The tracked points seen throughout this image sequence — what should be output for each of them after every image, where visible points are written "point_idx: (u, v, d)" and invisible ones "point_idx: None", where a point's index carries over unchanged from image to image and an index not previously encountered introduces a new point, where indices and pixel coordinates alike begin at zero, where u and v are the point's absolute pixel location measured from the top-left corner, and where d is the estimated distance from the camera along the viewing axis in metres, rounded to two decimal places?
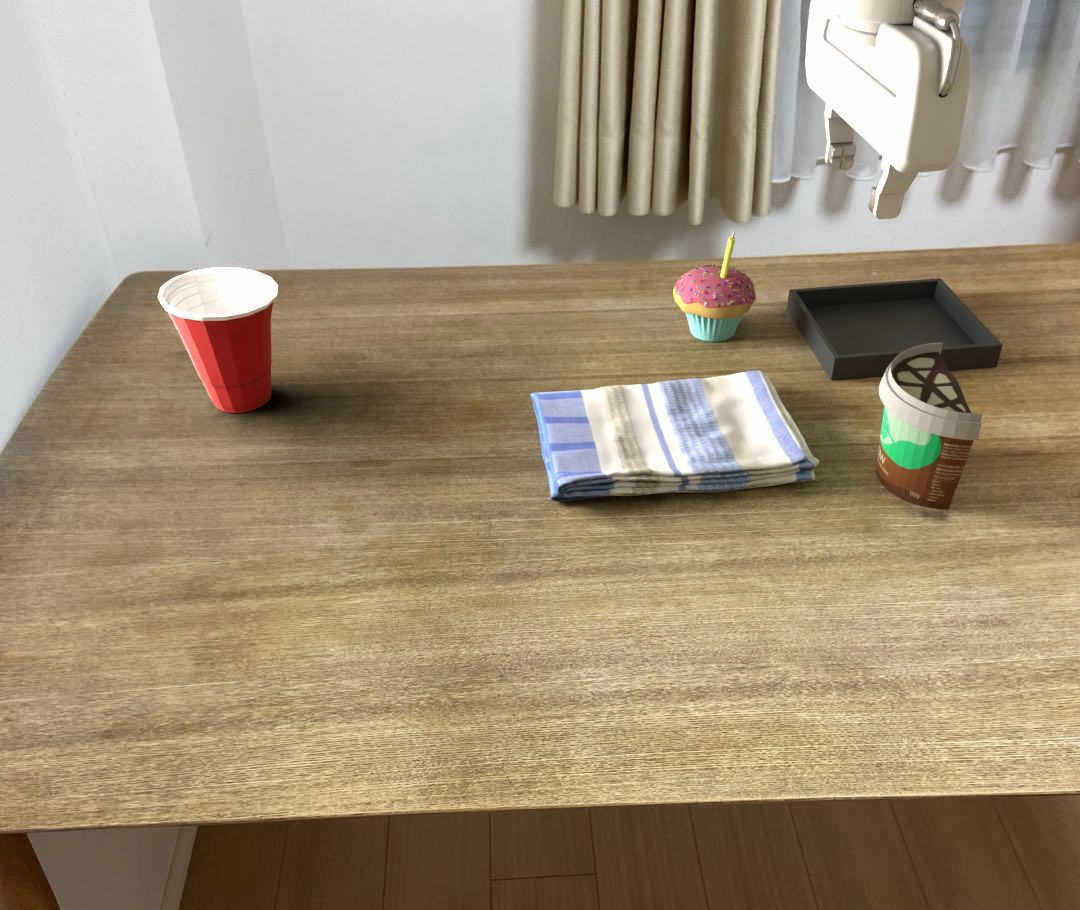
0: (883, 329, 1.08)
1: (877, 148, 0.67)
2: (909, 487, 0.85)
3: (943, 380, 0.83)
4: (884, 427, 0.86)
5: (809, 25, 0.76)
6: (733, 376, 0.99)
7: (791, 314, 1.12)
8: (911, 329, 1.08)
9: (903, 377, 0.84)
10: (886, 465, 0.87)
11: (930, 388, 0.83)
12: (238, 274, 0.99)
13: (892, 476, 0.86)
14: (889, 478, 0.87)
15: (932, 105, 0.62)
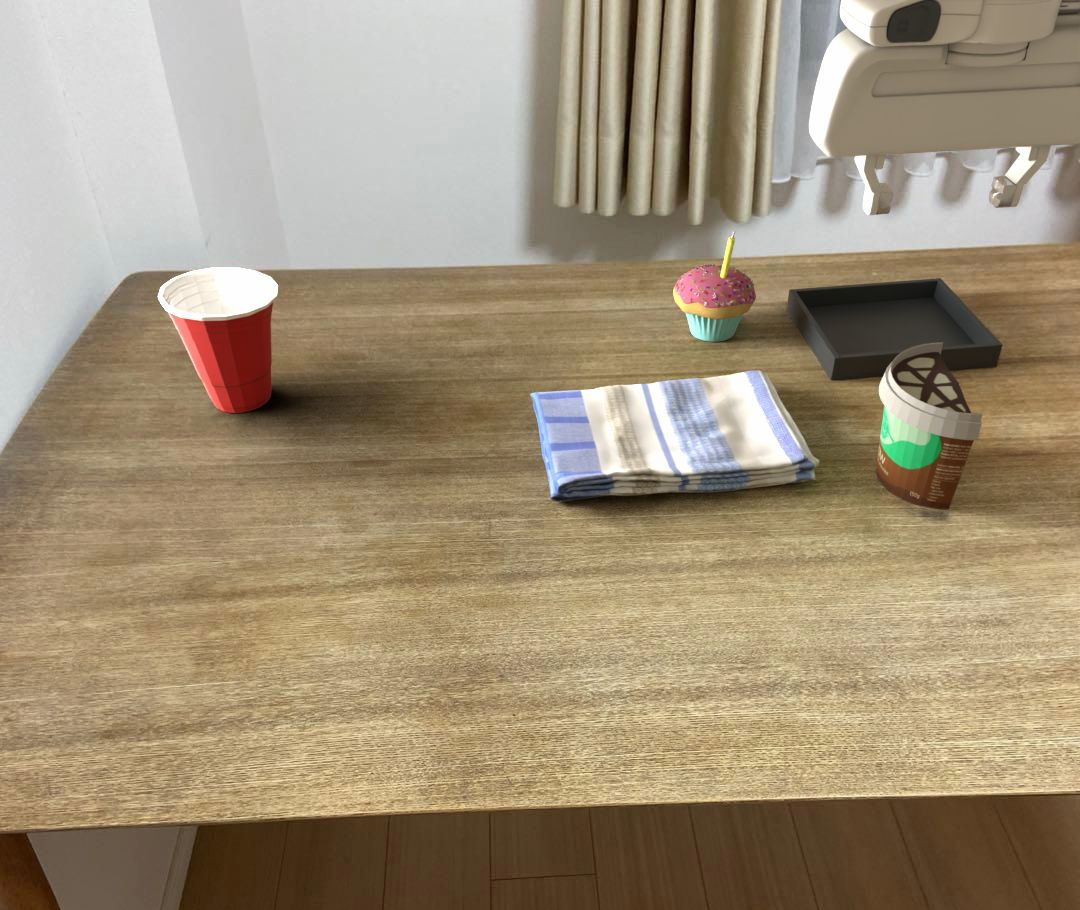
0: (883, 329, 1.08)
1: (1046, 141, 0.70)
2: (909, 487, 0.85)
3: (943, 380, 0.83)
4: (884, 427, 0.86)
5: (849, 92, 0.66)
6: (733, 376, 0.99)
7: (791, 314, 1.12)
8: (911, 329, 1.08)
9: (903, 377, 0.84)
10: (886, 465, 0.87)
11: (930, 388, 0.83)
12: (238, 274, 0.99)
13: (892, 476, 0.86)
14: (889, 478, 0.87)
15: None
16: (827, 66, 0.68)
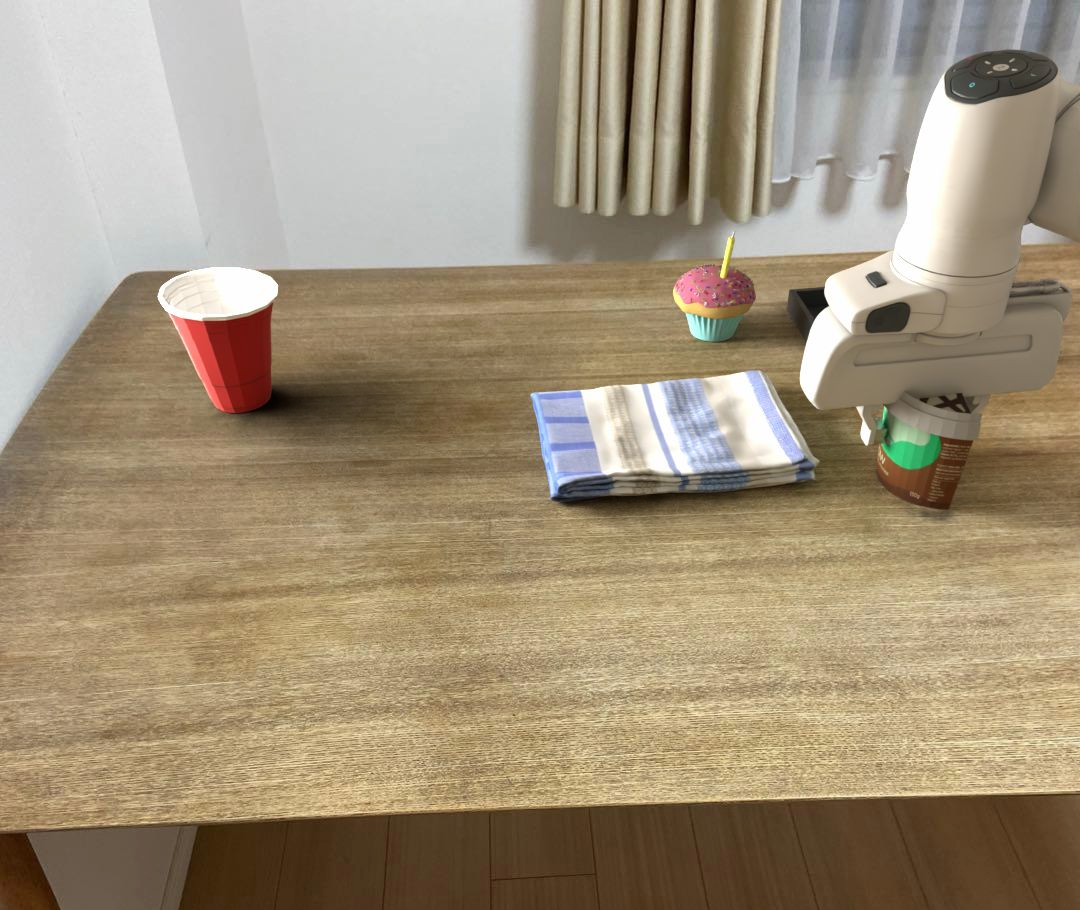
0: None
1: (1001, 391, 0.82)
2: (909, 487, 0.85)
3: None
4: None
5: (835, 365, 0.78)
6: (733, 376, 0.99)
7: (791, 314, 1.12)
8: None
9: None
10: (886, 465, 0.87)
11: None
12: (238, 274, 0.99)
13: (892, 476, 0.86)
14: (889, 478, 0.87)
15: None
16: (815, 338, 0.80)
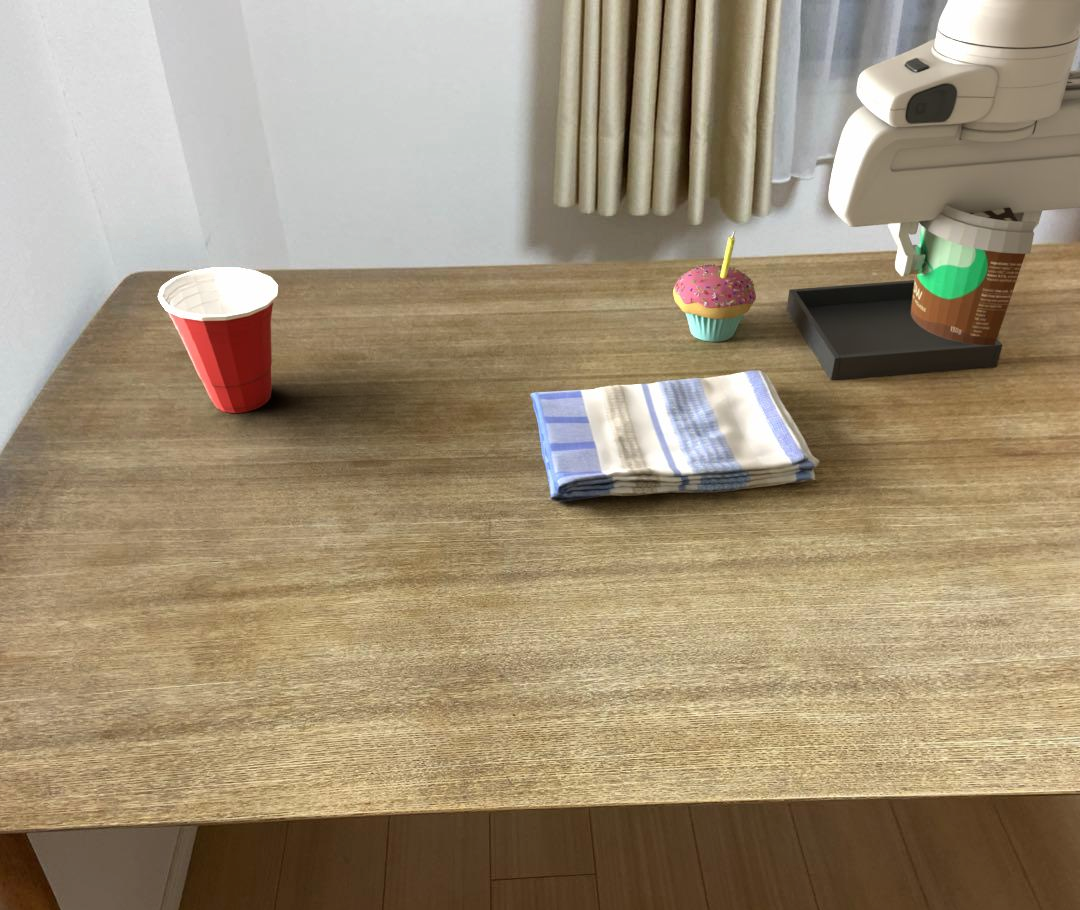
0: (883, 329, 1.08)
1: (1053, 206, 0.74)
2: (950, 321, 0.77)
3: None
4: None
5: (870, 168, 0.70)
6: (733, 376, 0.99)
7: (791, 314, 1.12)
8: (911, 329, 1.08)
9: None
10: (923, 300, 0.78)
11: None
12: (238, 274, 0.99)
13: (930, 311, 0.78)
14: (926, 315, 0.78)
15: None
16: (847, 142, 0.71)
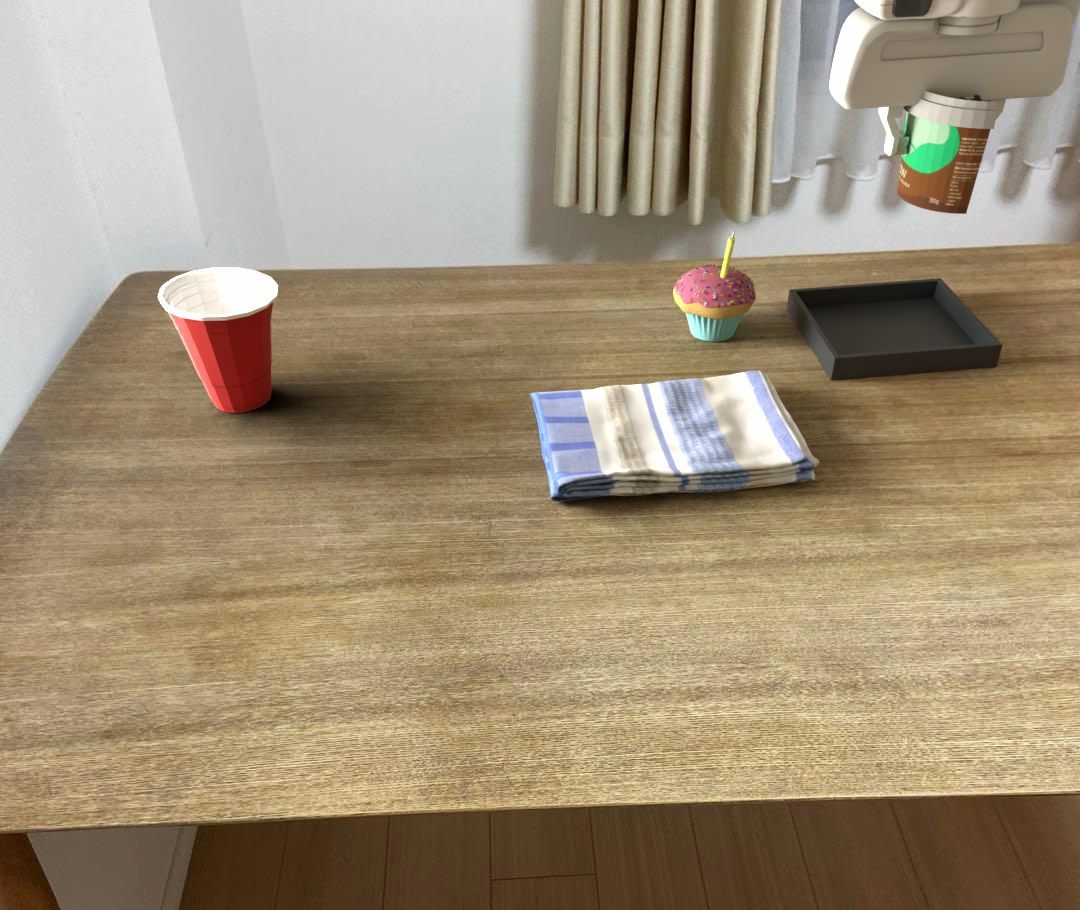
0: (883, 329, 1.08)
1: (1015, 95, 0.89)
2: (929, 193, 0.92)
3: None
4: None
5: (863, 56, 0.85)
6: (733, 376, 0.99)
7: (791, 314, 1.12)
8: (911, 329, 1.08)
9: None
10: (907, 177, 0.94)
11: None
12: (238, 274, 0.99)
13: (913, 186, 0.93)
14: (910, 190, 0.94)
15: None
16: (845, 37, 0.87)
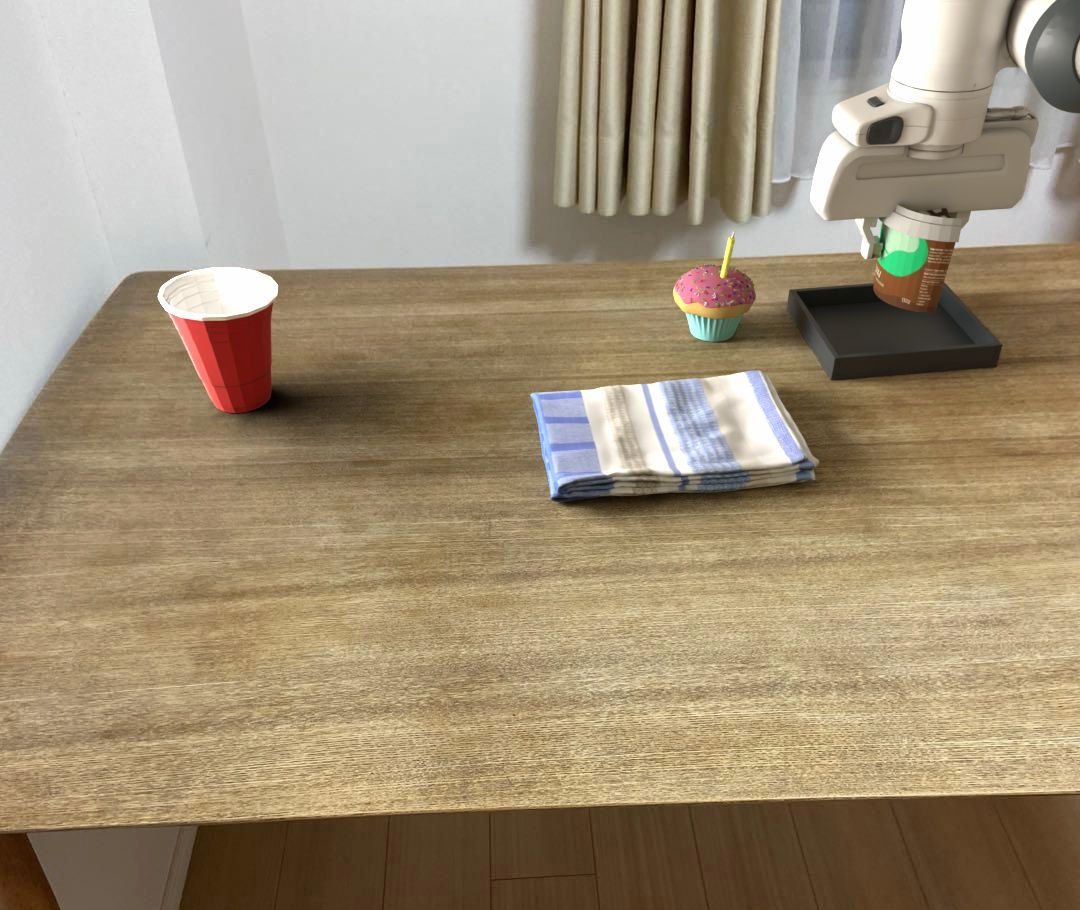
0: (883, 329, 1.08)
1: (979, 208, 0.98)
2: (901, 294, 1.01)
3: None
4: None
5: (840, 177, 0.94)
6: (733, 376, 0.99)
7: (791, 314, 1.12)
8: (911, 329, 1.08)
9: None
10: (882, 278, 1.02)
11: None
12: (238, 274, 0.99)
13: (887, 286, 1.02)
14: (884, 289, 1.02)
15: None
16: (824, 157, 0.96)
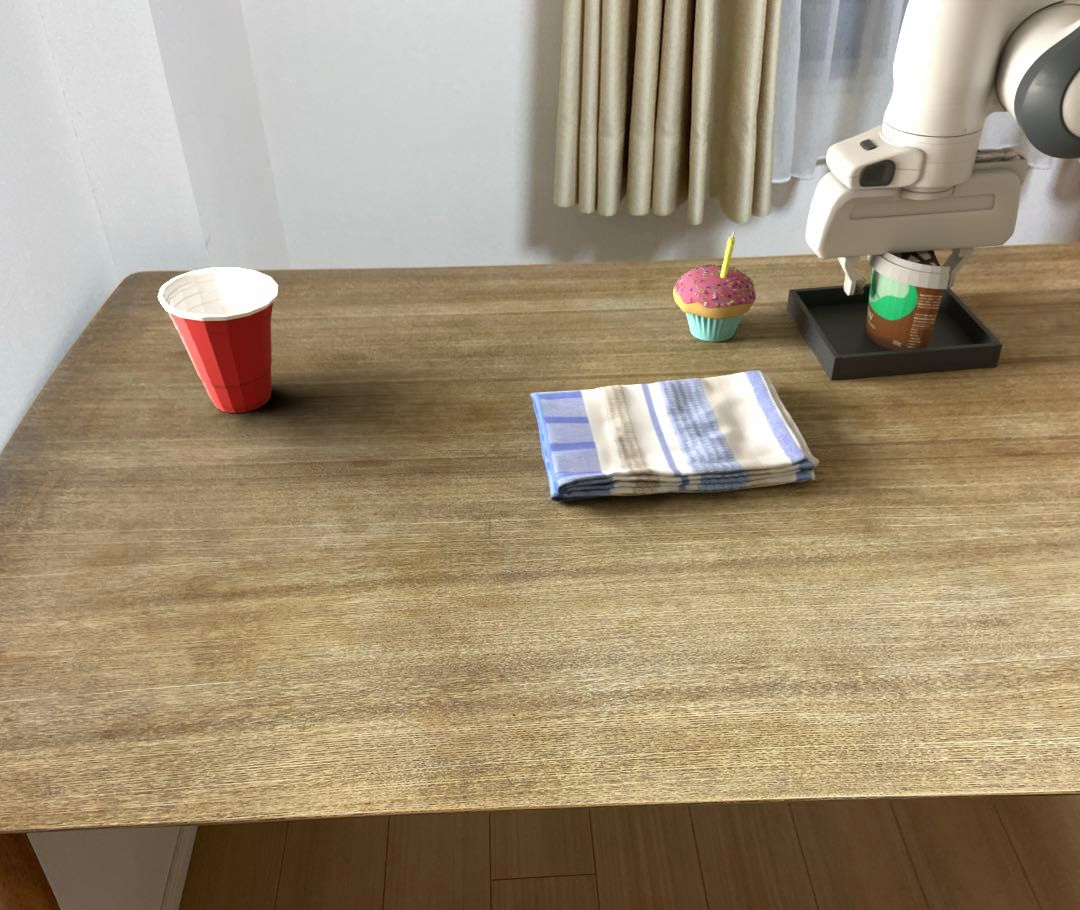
0: None
1: (970, 245, 1.00)
2: (892, 336, 1.04)
3: None
4: (872, 288, 1.04)
5: (834, 217, 0.96)
6: (733, 376, 0.99)
7: (791, 314, 1.12)
8: None
9: None
10: (873, 320, 1.05)
11: (909, 252, 1.01)
12: (238, 274, 0.99)
13: (878, 329, 1.05)
14: (876, 331, 1.05)
15: None
16: (818, 197, 0.98)
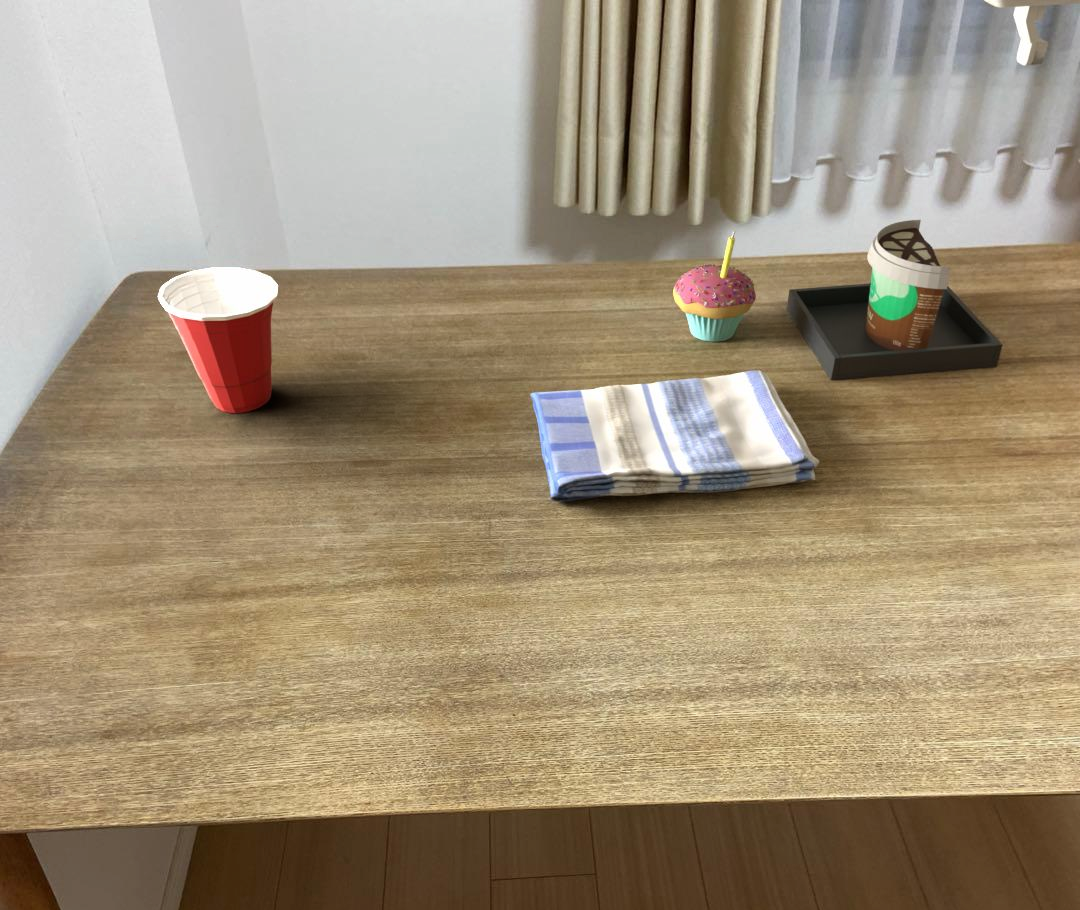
0: None
1: None
2: (892, 336, 1.04)
3: (920, 246, 1.02)
4: (872, 288, 1.04)
5: None
6: (733, 376, 0.99)
7: (791, 314, 1.12)
8: None
9: (887, 245, 1.03)
10: (873, 320, 1.05)
11: (909, 252, 1.01)
12: (238, 274, 0.99)
13: (878, 329, 1.05)
14: (876, 331, 1.05)
15: None
16: None
